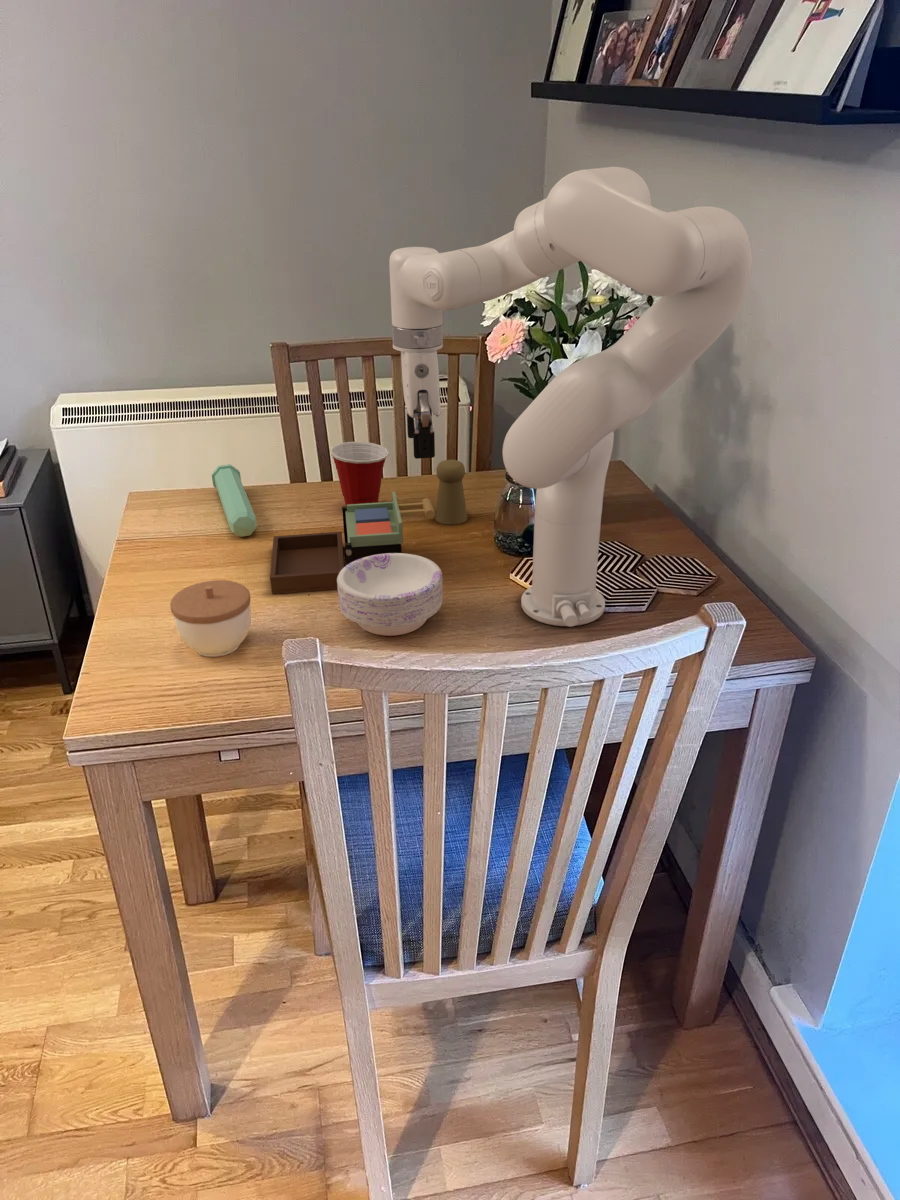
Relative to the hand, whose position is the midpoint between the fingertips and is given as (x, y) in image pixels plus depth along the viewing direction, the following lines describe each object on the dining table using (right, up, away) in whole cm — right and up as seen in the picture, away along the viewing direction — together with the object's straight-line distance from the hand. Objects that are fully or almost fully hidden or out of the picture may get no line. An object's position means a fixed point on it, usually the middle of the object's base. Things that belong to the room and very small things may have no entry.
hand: (420, 447), depth 138 cm
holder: (-19, -19, +6) cm, 28 cm away
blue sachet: (-8, -11, +7) cm, 15 cm away
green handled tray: (-5, -12, +5) cm, 14 cm away
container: (-36, -8, +27) cm, 46 cm away
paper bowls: (-4, -27, -9) cm, 29 cm away
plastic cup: (-12, -7, +28) cm, 32 cm away
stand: (-8, -18, +8) cm, 21 cm away
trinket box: (-28, -31, -14) cm, 44 cm away
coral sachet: (-8, -13, +2) cm, 15 cm away
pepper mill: (+5, -9, +24) cm, 26 cm away
